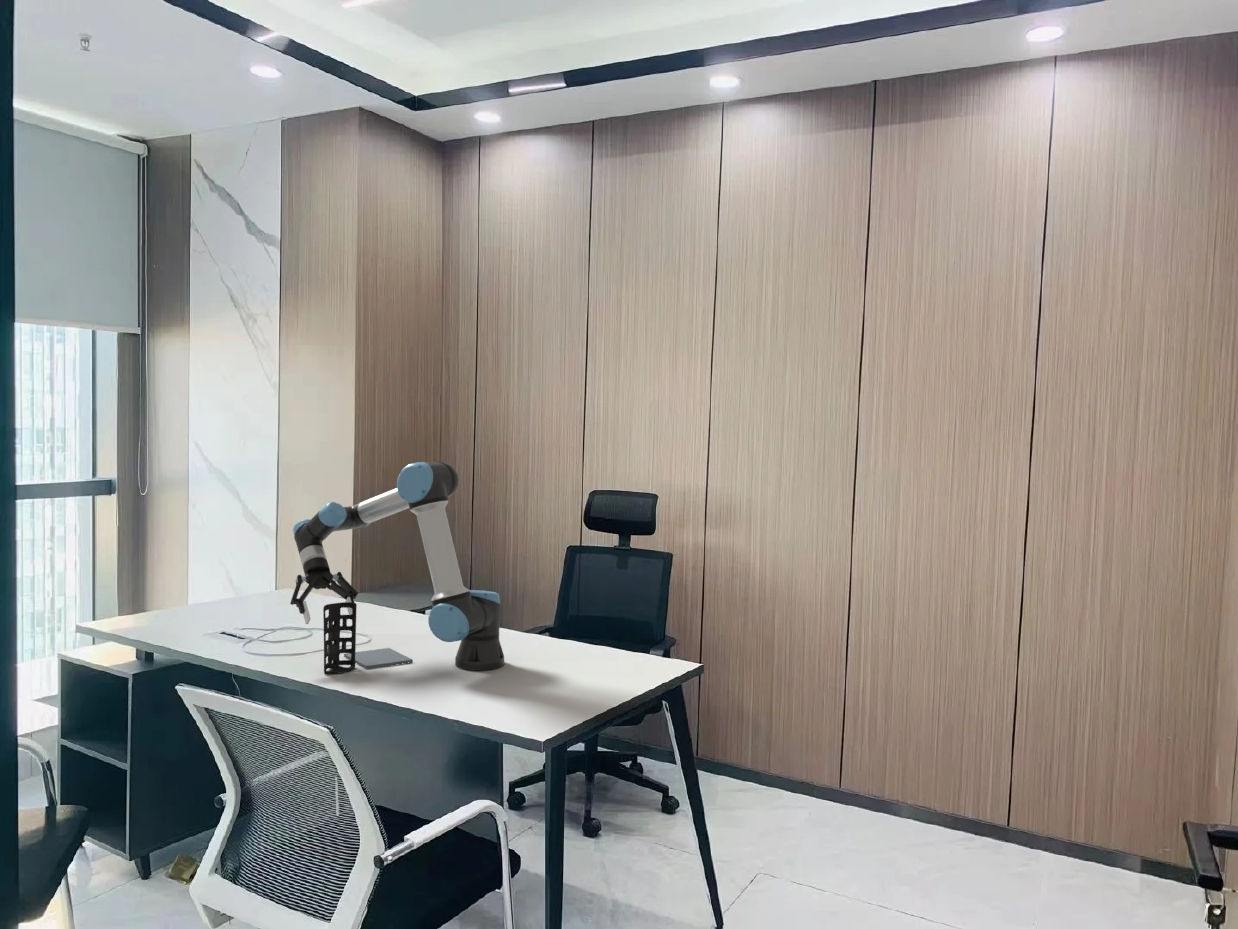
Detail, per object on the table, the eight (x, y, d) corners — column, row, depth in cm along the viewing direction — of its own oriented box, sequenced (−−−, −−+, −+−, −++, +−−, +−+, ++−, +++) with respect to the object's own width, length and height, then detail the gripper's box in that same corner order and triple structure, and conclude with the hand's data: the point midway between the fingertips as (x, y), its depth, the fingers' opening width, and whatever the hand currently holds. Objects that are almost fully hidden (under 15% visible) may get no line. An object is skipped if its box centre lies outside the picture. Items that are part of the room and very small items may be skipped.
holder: (333, 676, 259) (334, 608, 258) (314, 673, 262) (315, 605, 262) (360, 668, 269) (362, 602, 268) (342, 665, 272) (343, 600, 272)
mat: (412, 662, 277) (412, 659, 277) (366, 669, 268) (366, 666, 268) (388, 650, 291) (388, 647, 291) (344, 656, 282) (344, 653, 282)
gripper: (350, 567, 290) (367, 622, 279) (271, 573, 275) (285, 630, 263) (356, 553, 286) (374, 608, 274) (276, 558, 270) (291, 616, 259)
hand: (330, 619), depth 269 cm, fingers open, 13 cm apart
